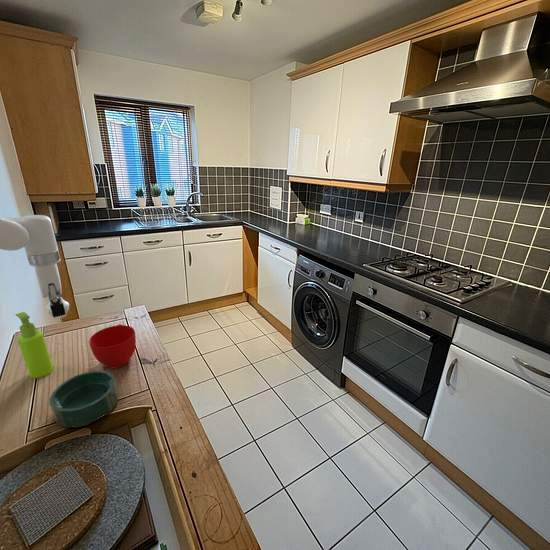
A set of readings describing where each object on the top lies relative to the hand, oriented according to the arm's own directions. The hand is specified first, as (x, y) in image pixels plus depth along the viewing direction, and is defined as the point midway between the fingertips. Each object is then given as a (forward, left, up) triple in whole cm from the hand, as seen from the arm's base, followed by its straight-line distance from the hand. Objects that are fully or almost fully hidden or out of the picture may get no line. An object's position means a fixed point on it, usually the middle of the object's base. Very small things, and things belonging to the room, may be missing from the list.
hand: (58, 310), depth 92 cm
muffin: (0, 0, -2) cm, 2 cm away
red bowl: (+13, -11, -17) cm, 24 cm away
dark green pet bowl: (+2, -29, -17) cm, 33 cm away
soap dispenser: (-8, -4, -17) cm, 20 cm away
